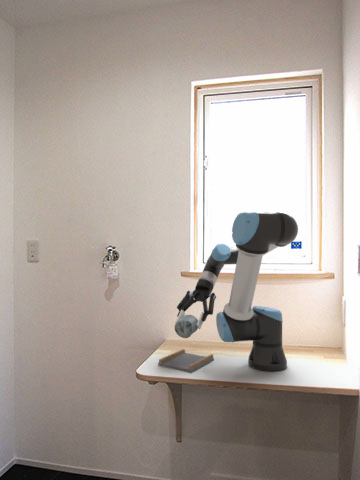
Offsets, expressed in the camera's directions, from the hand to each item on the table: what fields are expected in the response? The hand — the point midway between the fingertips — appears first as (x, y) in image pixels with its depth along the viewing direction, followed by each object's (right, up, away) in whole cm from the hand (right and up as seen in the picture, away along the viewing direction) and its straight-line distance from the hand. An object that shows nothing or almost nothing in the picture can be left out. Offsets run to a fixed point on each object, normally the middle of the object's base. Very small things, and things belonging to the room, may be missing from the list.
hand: (187, 325), depth 157 cm
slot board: (0, -15, -1) cm, 15 cm away
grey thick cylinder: (0, -4, -1) cm, 4 cm away
